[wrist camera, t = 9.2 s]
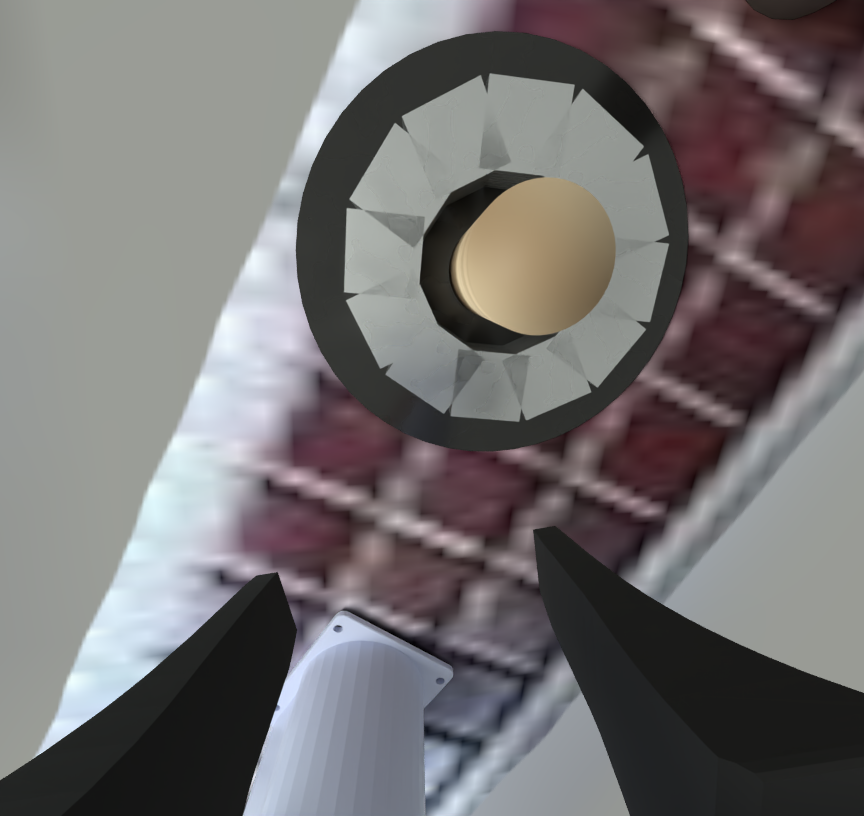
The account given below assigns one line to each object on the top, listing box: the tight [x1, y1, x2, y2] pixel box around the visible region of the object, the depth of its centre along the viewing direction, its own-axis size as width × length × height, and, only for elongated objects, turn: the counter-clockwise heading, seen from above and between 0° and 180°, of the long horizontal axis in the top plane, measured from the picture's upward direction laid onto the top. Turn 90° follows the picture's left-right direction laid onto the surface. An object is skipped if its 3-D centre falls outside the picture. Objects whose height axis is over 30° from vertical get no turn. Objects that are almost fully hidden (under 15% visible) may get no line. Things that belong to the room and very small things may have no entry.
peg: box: [449, 177, 616, 335], centre depth 14 cm, size 4×4×7 cm
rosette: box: [296, 31, 688, 451], centre depth 17 cm, size 17×17×3 cm
